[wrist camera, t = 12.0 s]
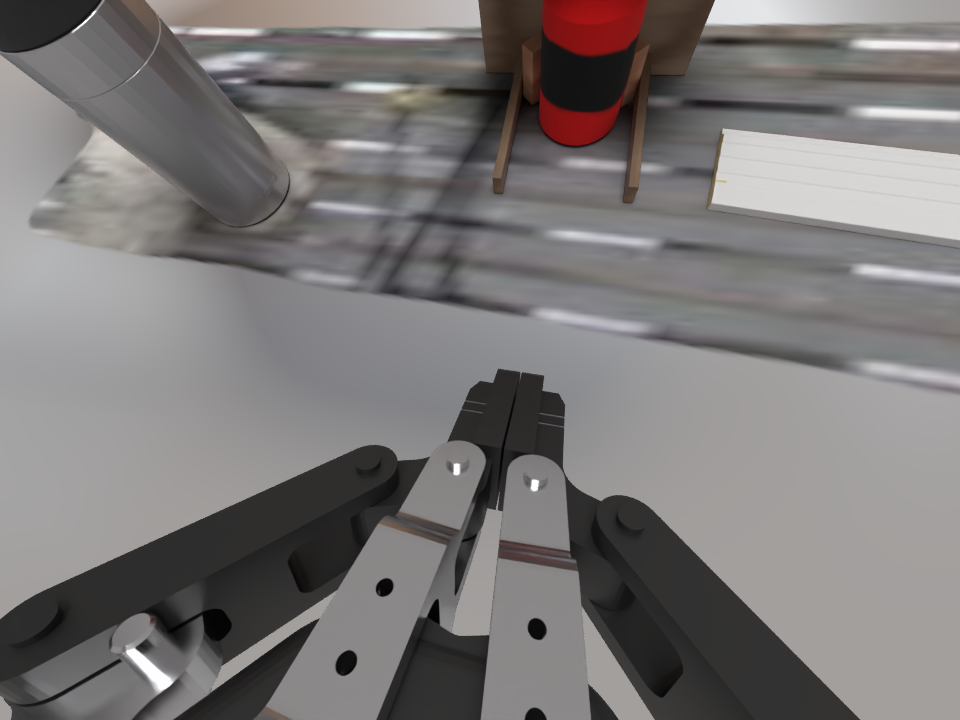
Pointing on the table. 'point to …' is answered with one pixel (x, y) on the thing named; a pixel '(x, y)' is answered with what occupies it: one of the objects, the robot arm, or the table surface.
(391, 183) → the table surface
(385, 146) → the table surface
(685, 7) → the overhang shelf
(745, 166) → the baseboard
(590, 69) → the soda can
